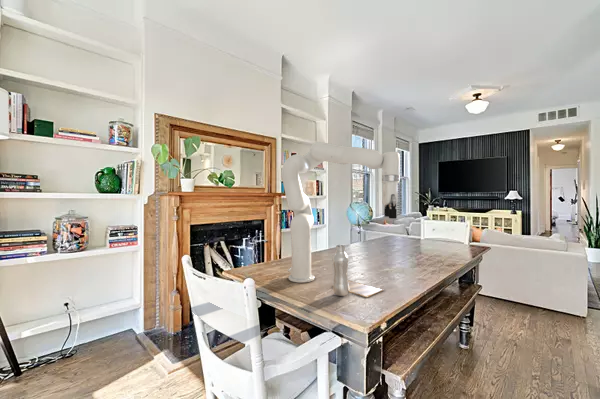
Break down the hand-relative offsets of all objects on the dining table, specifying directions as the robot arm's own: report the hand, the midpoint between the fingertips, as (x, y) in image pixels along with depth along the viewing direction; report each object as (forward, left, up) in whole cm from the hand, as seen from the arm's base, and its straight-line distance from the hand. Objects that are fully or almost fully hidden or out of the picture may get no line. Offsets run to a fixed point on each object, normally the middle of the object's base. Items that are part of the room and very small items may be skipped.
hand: (390, 217), depth 128 cm
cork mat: (-6, -16, -30) cm, 35 cm away
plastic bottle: (-6, -27, -31) cm, 41 cm away
